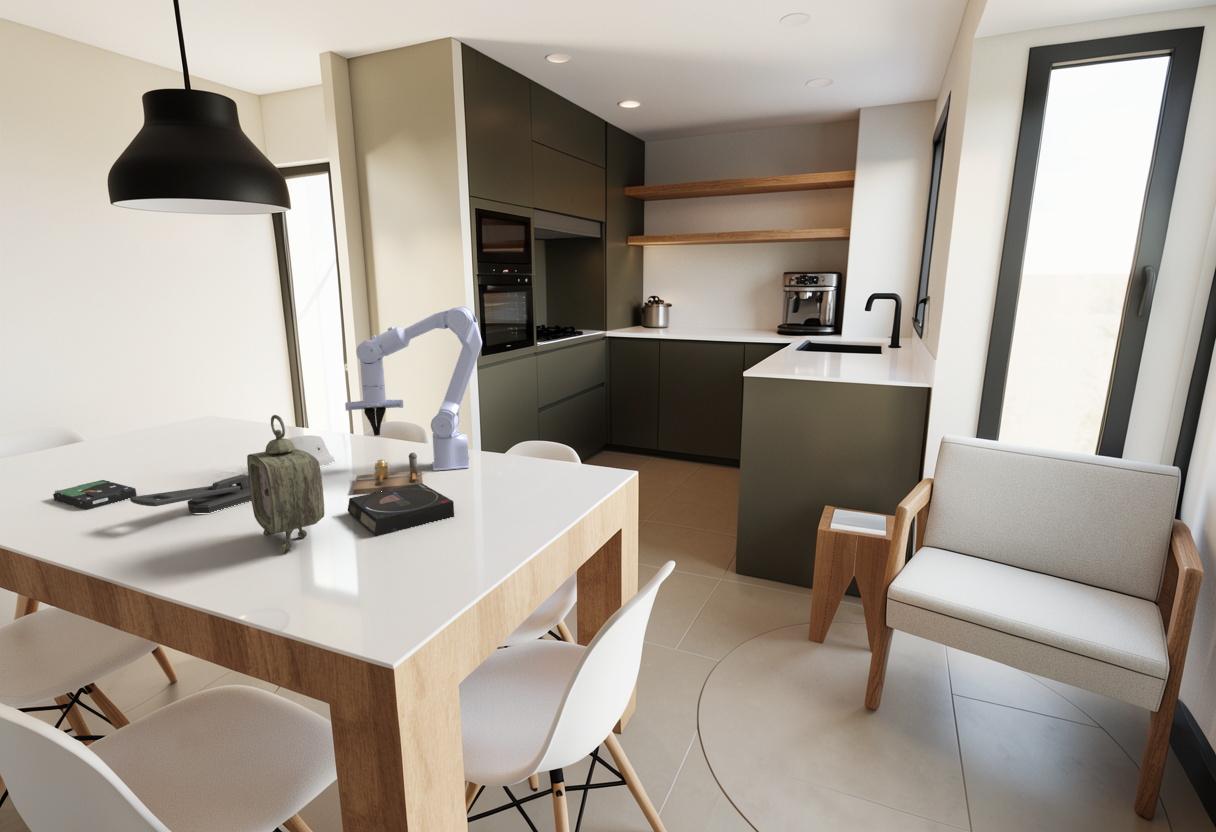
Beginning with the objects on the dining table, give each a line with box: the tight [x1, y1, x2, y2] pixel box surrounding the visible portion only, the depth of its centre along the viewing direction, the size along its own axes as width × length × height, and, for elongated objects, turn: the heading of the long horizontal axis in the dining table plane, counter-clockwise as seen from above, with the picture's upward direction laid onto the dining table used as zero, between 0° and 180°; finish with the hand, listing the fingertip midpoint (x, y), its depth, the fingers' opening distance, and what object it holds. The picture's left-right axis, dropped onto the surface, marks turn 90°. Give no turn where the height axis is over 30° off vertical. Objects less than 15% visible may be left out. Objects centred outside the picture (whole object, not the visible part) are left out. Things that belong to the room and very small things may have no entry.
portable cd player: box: [347, 483, 455, 537], centre depth 132 cm, size 16×17×4 cm
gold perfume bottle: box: [374, 459, 390, 482], centre depth 153 cm, size 3×7×4 cm, turn 18°
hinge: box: [288, 434, 336, 466], centre depth 167 cm, size 17×5×10 cm, turn 155°
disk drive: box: [52, 479, 138, 511], centre depth 143 cm, size 10×3×15 cm
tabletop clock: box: [246, 414, 325, 554], centre depth 117 cm, size 14×9×25 cm, turn 45°
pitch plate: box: [352, 452, 424, 495], centre depth 154 cm, size 16×12×7 cm
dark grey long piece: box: [129, 473, 252, 514], centre depth 135 cm, size 9×7×25 cm
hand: (377, 434), depth 166 cm, fingers closed
